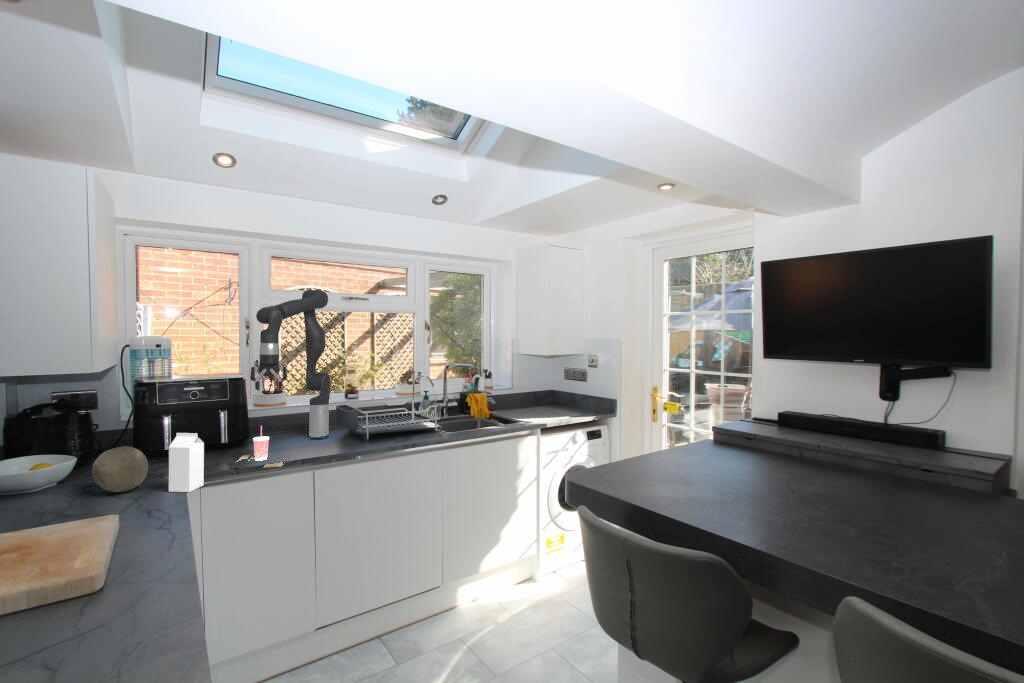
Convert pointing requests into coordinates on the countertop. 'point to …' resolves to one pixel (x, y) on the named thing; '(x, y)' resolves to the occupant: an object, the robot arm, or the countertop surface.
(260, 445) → the beverage cup
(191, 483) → the milk carton
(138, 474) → the cantaloupe
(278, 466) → the oak board
